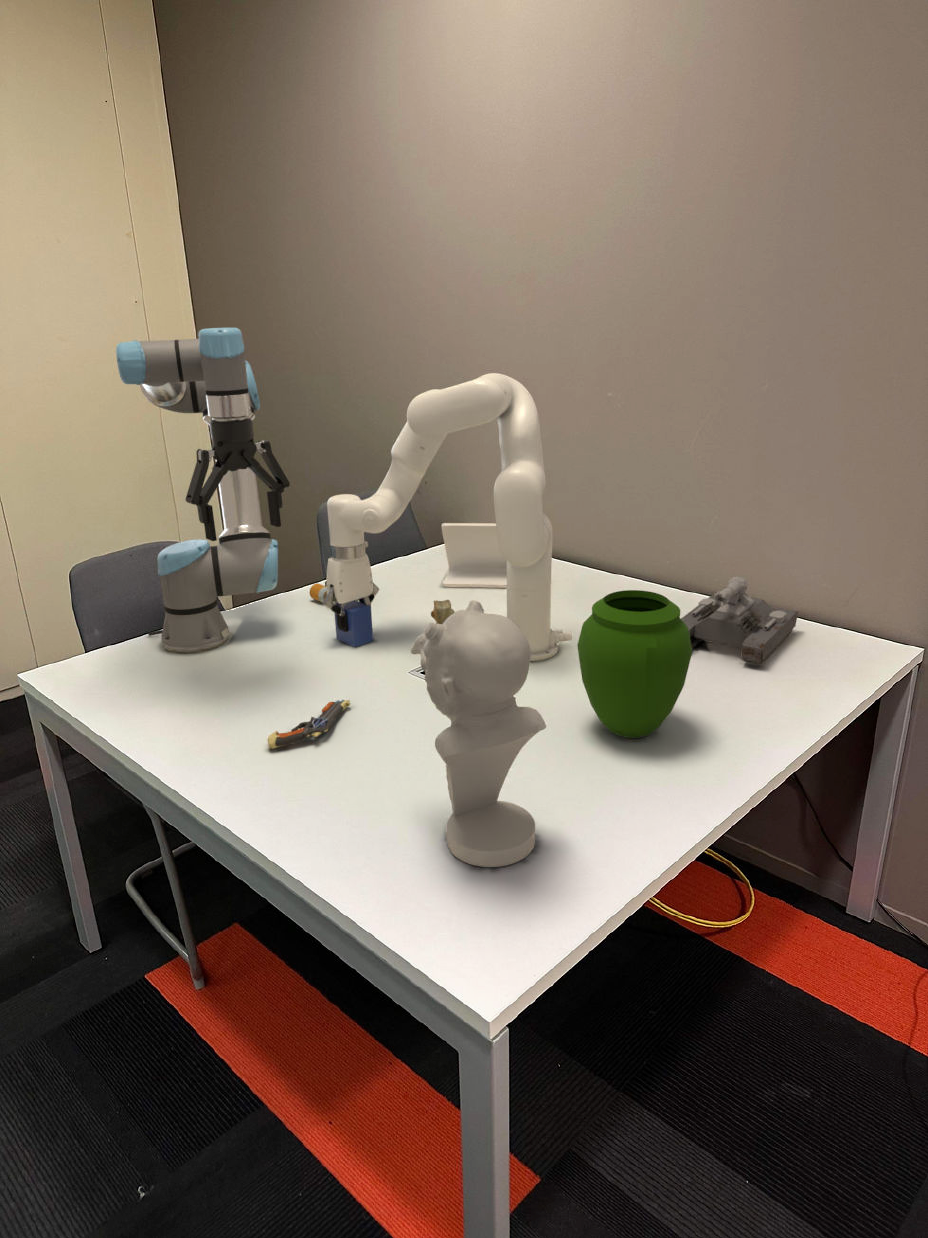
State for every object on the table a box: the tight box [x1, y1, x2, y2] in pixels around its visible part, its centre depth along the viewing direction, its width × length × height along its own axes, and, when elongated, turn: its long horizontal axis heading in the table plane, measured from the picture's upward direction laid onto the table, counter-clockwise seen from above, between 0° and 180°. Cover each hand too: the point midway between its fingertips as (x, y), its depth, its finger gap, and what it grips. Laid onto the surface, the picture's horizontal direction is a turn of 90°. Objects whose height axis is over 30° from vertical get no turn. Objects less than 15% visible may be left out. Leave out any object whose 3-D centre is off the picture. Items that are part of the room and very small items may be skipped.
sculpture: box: [430, 599, 456, 624], centre depth 177 cm, size 6×7×15 cm
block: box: [333, 600, 374, 648], centre depth 196 cm, size 5×7×9 cm
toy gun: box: [267, 699, 351, 749], centre depth 157 cm, size 3×19×10 cm
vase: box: [576, 589, 693, 739], centre depth 149 cm, size 20×20×24 cm
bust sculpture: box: [410, 599, 547, 868], centre depth 121 cm, size 16×24×35 cm
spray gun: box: [308, 580, 336, 603], centre depth 226 cm, size 4×17×15 cm
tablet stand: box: [441, 522, 507, 589], centre depth 235 cm, size 18×25×17 cm
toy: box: [680, 576, 799, 666], centre depth 187 cm, size 25×20×15 cm
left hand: (244, 532), depth 161 cm, fingers open, 13 cm apart
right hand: (353, 626), depth 196 cm, fingers closed on block, 5 cm apart
